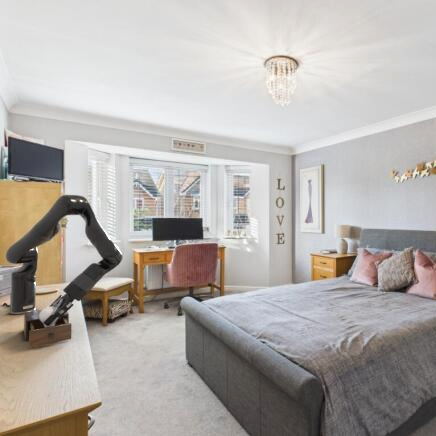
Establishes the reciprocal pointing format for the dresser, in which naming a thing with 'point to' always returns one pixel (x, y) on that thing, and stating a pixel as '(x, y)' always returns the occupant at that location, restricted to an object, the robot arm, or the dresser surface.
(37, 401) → the dresser surface
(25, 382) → the dresser surface
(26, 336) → the cabinet
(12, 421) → the dresser surface
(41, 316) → the lightbulb
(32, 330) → the drawer
